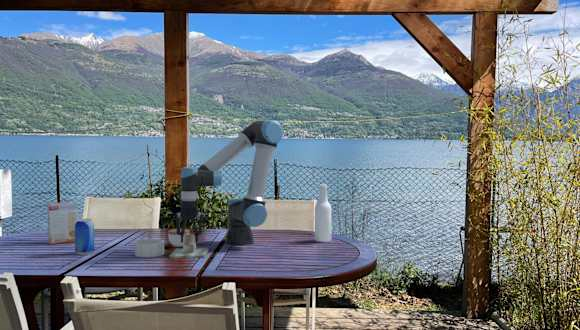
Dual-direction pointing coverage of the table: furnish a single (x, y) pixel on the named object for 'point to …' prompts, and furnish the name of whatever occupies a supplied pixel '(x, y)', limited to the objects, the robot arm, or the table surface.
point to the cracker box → (62, 222)
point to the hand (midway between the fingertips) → (189, 249)
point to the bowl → (149, 248)
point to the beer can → (84, 237)
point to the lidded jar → (176, 237)
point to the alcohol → (323, 216)
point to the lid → (189, 249)
